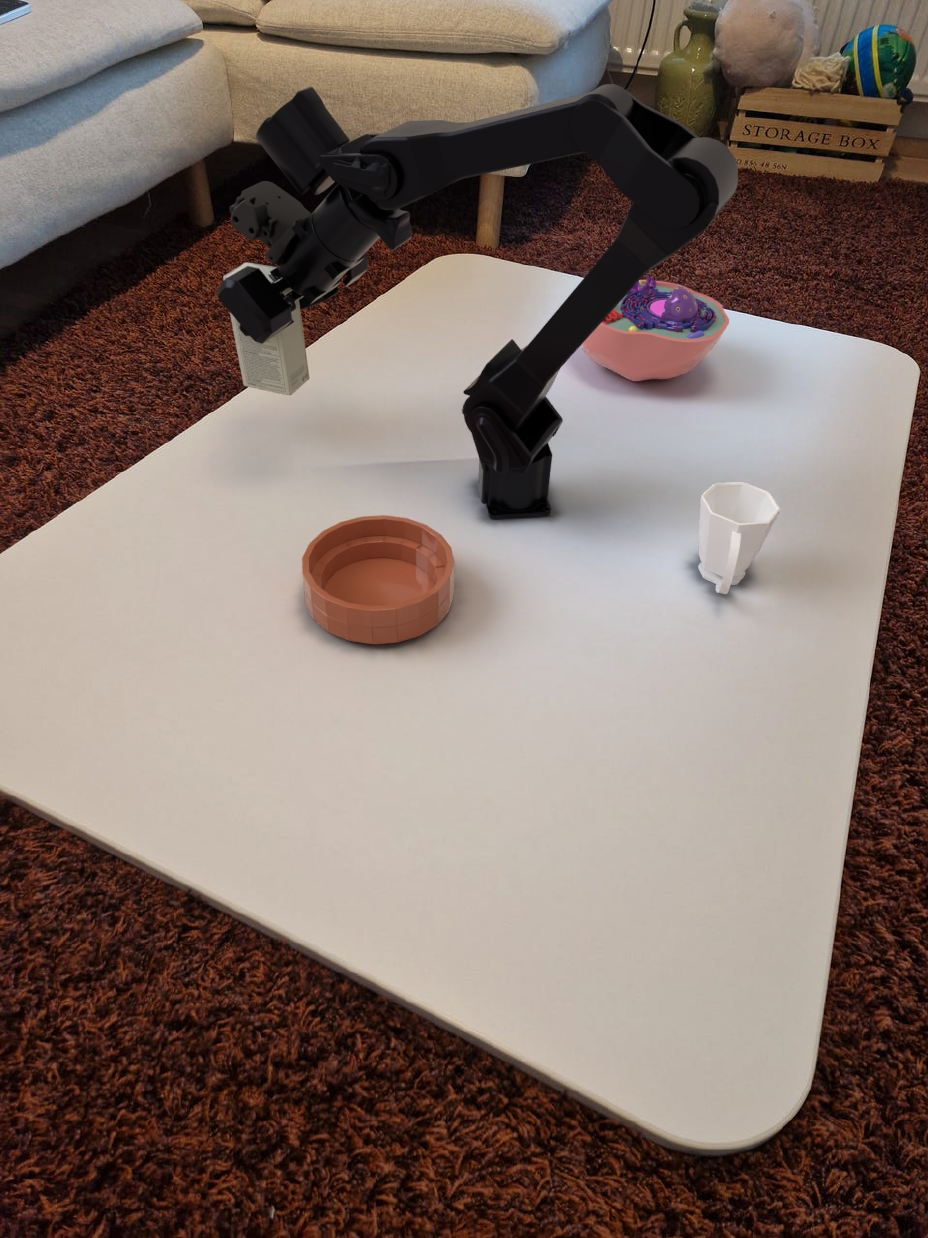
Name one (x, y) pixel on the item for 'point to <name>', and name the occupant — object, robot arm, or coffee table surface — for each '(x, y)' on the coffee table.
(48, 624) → the coffee table surface
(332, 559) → the terracotta bowl
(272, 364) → the cosmetic box
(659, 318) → the cell model
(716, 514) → the cup
